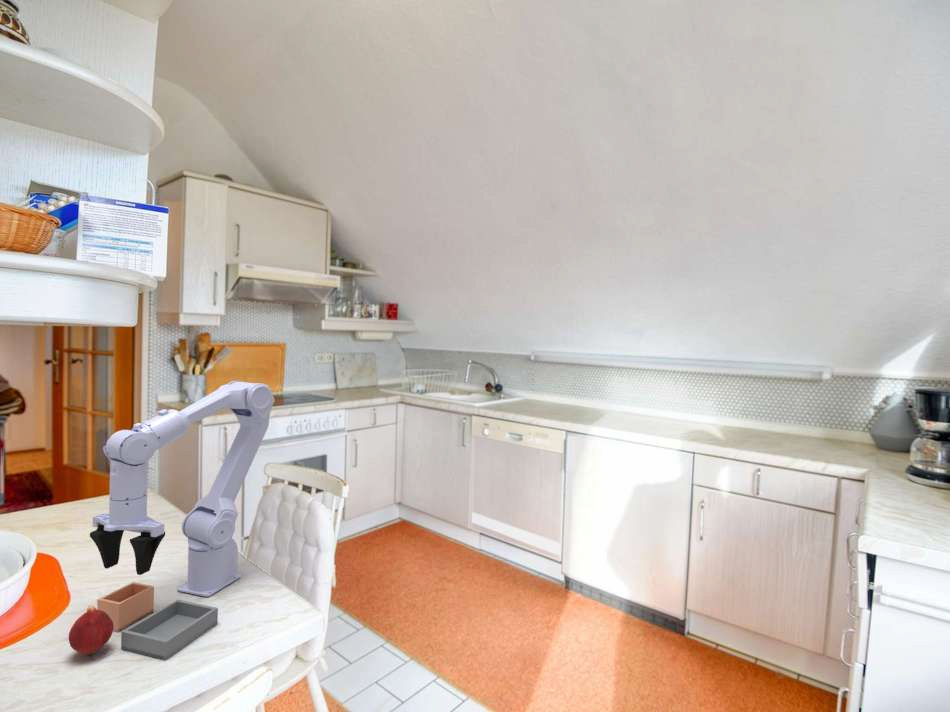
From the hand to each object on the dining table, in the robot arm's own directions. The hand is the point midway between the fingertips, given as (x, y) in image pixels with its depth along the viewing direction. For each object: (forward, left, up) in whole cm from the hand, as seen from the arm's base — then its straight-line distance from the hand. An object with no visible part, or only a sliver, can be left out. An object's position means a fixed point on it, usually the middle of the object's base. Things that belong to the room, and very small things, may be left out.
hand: (127, 569), depth 92 cm
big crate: (+2, +12, -9) cm, 15 cm away
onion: (+10, +4, -10) cm, 14 cm away
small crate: (0, 0, -9) cm, 9 cm away
